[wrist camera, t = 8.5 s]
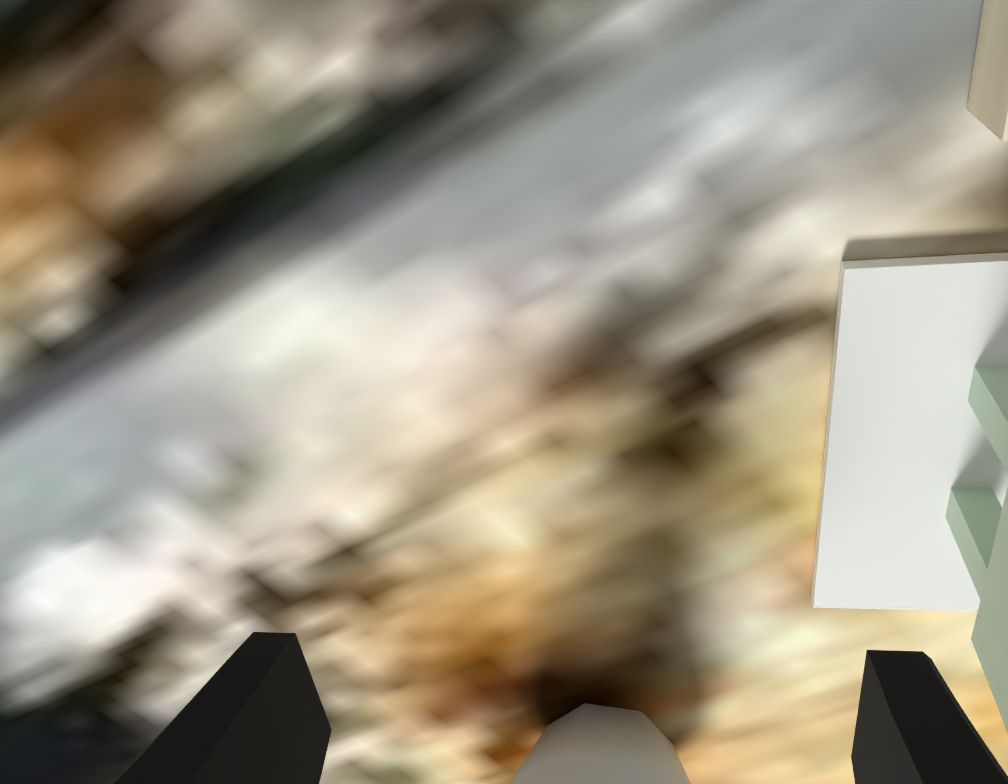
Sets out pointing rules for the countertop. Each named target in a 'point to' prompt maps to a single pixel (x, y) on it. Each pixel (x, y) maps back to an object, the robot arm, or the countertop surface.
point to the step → (991, 70)
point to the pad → (906, 429)
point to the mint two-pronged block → (987, 535)
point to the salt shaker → (602, 750)
